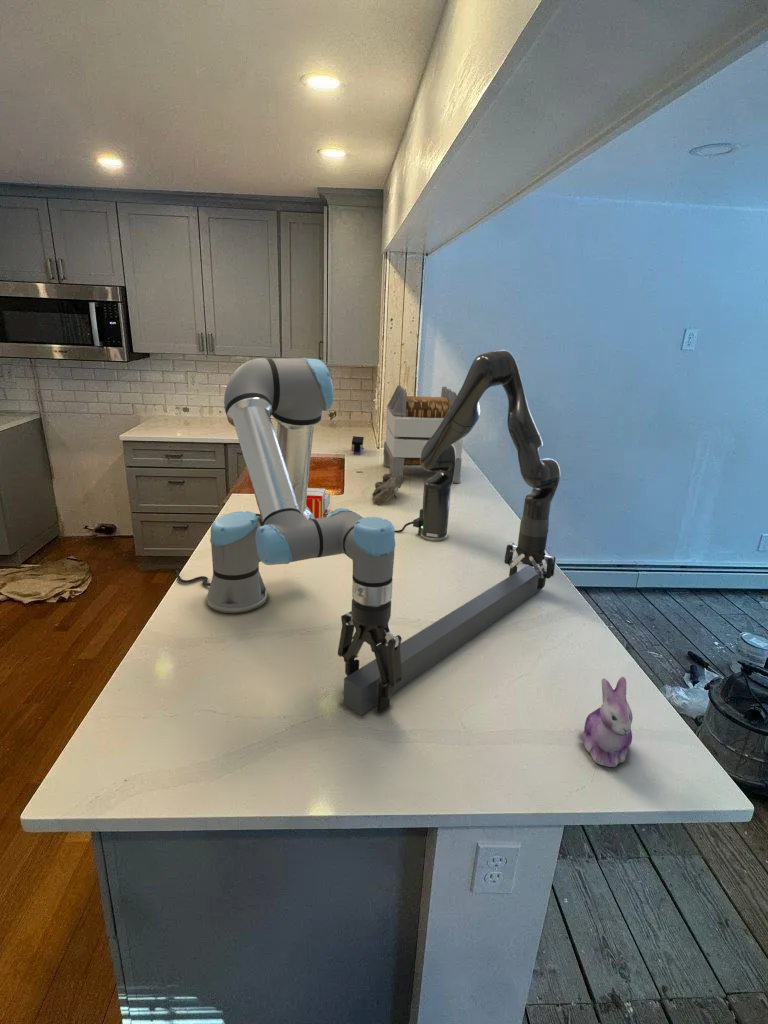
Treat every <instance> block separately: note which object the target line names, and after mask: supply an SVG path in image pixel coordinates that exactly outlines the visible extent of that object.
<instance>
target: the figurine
mask: <svg viewBox="0 0 768 1024" xmlns="http://www.w3.org/2000/svg"><path fill="white" fill-rule="evenodd" d="M601 693H602V695H601V696H602V704H601V706H600V707H597V709H595V710H594V711H592V712H590V713H589V714H588V715H587V717H586V719H585V722H584V727H583V728H584V729H583V734H582V739H583V746H584V748H585V750H586V751H587V752H588V754H589V755H590V756H591V758H592V760H593V761H594V763H595V764H598V765H600V766H604V767H608V768H615V767H617V766H618V764H621V763H625V761H626V759H627V754H628V751H629V747H630V746H631V744H632V742H633V731H632V722H633V712H632V709H631V707H630V704H629V702H628V700H627V679H626V678H625V677H624V676H621V677H619V679H618V680H617V682H616V686H615V688H613V687H612V685H611V683H610V682H609V680H607V678H605V677H603V678H602V679H601Z"/></svg>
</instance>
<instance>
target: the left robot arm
mask: <svg viewBox="0 0 768 1024" xmlns="http://www.w3.org/2000/svg"><path fill="white" fill-rule="evenodd" d="M333 403H334V385H333V381H332V377H331V374H330V371H329V369H328V367H327V365H326V364H325V363H324V362H323V361H322V360H321V359H318V358H306V357H293V358H292V357H290V358H289V357H288V358H287V357H286V358H285V357H284V358H282V357H280V358H275V357H274V358H265V357H258V358H252V359H250V360H247V361H246V362H244V363H242V364H241V365H240V366H239V367H237V368H236V370H235V371H234V372H233V373H232V375H231V376H230V378H229V380H228V382H227V385H226V387H225V391H224V398H223V404H224V405H223V406H224V411H225V416H226V419H227V421H228V423H229V424H230V425H231V426H233V427H234V429H235V432H236V435H237V439H238V442H239V446H240V449H241V454H242V456H243V460H244V464H245V467H246V470H247V474H248V476H249V480H250V484H251V487H252V490H253V494H254V497H255V500H256V504H257V507H258V511H259V514H260V515H261V516H256V514H257V513H254V512H252V511H247V510H246V511H243V510H242V511H239V510H238V511H233V512H229V513H226V514H223V515H221V516H219V517H217V518H216V519H215V520H214V521H213V522H212V524H211V526H210V539H209V542H210V547H211V548H210V549H211V559H212V560H211V561H212V578H211V582H208V581H209V578H208V576H204V575H202V576H197V577H193V578H191V579H183V578H182V577H181V575H180V570H179V569H177V570H175V571H174V572H173V573H174V574H175V575H176V578H177V580H178V582H180V583H181V584H190V583H193V582H196V581H201V580H202V585H203V586H205V587H208V591H207V605H208V606H209V607H210V608H211V609H212V610H214V611H216V612H219V613H223V614H244V613H247V612H248V613H249V612H251V611H254V610H257V609H258V608H260V607H261V606H263V605H264V604H265V603H266V602H267V599H268V589H267V587H266V584H265V583H264V580H263V578H262V576H261V573H260V563H262V564H264V565H265V566H275V565H289V564H290V563H295V562H300V561H305V560H311V559H317V558H318V559H319V558H326V557H331V556H336V555H341V554H344V555H346V556H347V557H348V559H350V560H352V584H351V585H352V587H351V588H352V590H351V591H352V592H351V597H352V599H351V611H349V612H347V613H345V614H343V615H341V617H340V618H341V631H340V635H339V636H340V638H339V642H338V648H337V656H338V657H342V658H343V662H344V673H345V675H346V677H347V676H349V675H350V674H352V673H353V672H355V671H357V670H358V669H360V660H359V659H358V657H359V652H360V650H361V649H362V647H363V645H364V643H367V644H368V645H369V646H370V650H371V652H372V653H374V657H375V659H376V661H377V665H378V668H379V672H380V676H381V679H382V681H381V682H380V683H379V691H378V704H377V712H379V713H382V712H384V711H385V710H386V709H388V708H390V706H391V705H390V704H391V697H392V696H393V694H394V693H393V687H394V686H396V685H397V684H399V683H400V682H402V667H401V655H400V644H401V643H402V636H401V635H400V634H397V635H394V634H393V633H391V631H390V627H389V622H390V619H391V616H392V598H393V581H394V580H393V577H394V563H395V549H396V538H395V537H396V536H395V534H396V532H395V531H396V529H395V525H394V524H393V523H392V522H391V521H390V520H388V519H386V518H385V519H383V518H382V517H378V516H367V517H362V516H361V515H360V514H359V513H356V512H355V511H353V510H351V509H349V508H345V507H339V508H336V509H334V510H332V511H331V512H329V513H328V514H327V516H325V517H323V518H317V519H315V517H314V515H313V514H312V513H311V512H310V509H309V508H308V507H307V506H306V497H307V488H309V476H310V469H311V468H310V467H311V459H312V449H313V439H314V438H313V437H314V429H315V426H316V425H318V424H319V423H320V422H321V420H322V415H323V411H325V412H326V411H327V410H330V409H331V408H332V406H333ZM271 417H272V418H273V419H274V420H275V421H276V423H277V424H276V431H275V428H274V423H273V422H272V421H273V420H272V419H271ZM179 575H180V576H179Z"/></svg>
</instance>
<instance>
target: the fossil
mask: <svg viewBox="0 0 768 1024" xmlns="http://www.w3.org/2000/svg"><path fill="white" fill-rule="evenodd" d="M403 482H404V476H403V475H401V474H399V473H394V474H393V475H392V474H391V473H390V472H389V473H384V474H383V476H382V481H376V482H375V483H374V488H375V489H374V490H373V493H372V494H371V495H372V496H371V497H372V502H373V503H374V504H376V505H380V504H381V505H382V504H384V503H387V502H388V501H389V500H390V499H391V498H393V497H394V498H395V499H396V498H397V496H396V493H397V492H398V490H399V489H401V487H402V485H403Z"/></svg>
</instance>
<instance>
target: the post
mask: <svg viewBox="0 0 768 1024" xmlns="http://www.w3.org/2000/svg"><path fill="white" fill-rule="evenodd" d="M538 578H539V575H538V572H537V571H535V569H534V566H533V567H531V566H529V565H526V566H523V568H520V569H519V570H517V572H516V573H514V574H513V575H511V576H510V577H509V576H508V577H506V578H505V579H503V580H501V581H499V582H498V583H496V584H495V585H493V586H491V587H490V588H488V589H487V590H485V591H483V592H482V593H481V594H478V595H477V596H476V597H474V598H472V599H470V600H469V601H467V602H466V603H464V604H462V605H461V606H459V607H457V608H456V609H454V610H453V611H451V612H449V613H448V614H446V615H444V616H443V617H441V618H439V619H438V620H436V621H435V622H433V623H432V624H430V625H428V626H426V627H425V628H423V629H422V630H420V631H419V632H416V633H415V634H413V635H412V636H410V637H408V638H407V639H406V640H404V641H401V644H400V655H401V667H402V682H400V683H399V684H397V685H396V686H394V687H393V694H394V693H395V692H397V691H398V690H400V689H401V688H403V687H404V686H405V685H407V684H408V683H410V682H412V680H414V679H415V678H417V677H418V676H420V675H421V674H422V673H424V672H426V671H428V670H429V669H430V668H431V667H432V666H434V665H436V664H437V663H438V662H440V661H441V660H442V659H444V658H445V657H447V656H448V655H450V654H451V653H453V652H454V651H455V650H457V649H458V648H460V647H461V646H462V645H464V644H465V643H467V642H469V640H471V639H472V638H474V637H476V636H477V635H478V634H479V633H481V632H482V631H484V630H485V629H487V628H489V626H491V625H492V624H494V623H496V621H498V620H499V619H501V618H502V617H504V616H505V615H506V614H508V613H509V612H511V611H512V610H513V609H515V608H516V607H518V606H520V605H521V604H522V603H523V602H525V601H526V600H528V599H530V598H531V597H532V596H534V595H535V594H536V593H538V592H539V591H540V590H538V589H537V585H538ZM381 681H382V679H381V676H380V672H379V668H378V665H377V661H376V658H375V659H373V660H371V661H369V662H368V663H366V664H365V665H363V666H362V667H359V669H358V670H357V671H355V672H353V673H352V674H350V675H349V676H347V675H346V676H345V677H344V678H343V705H344V706H346V707H347V708H349V709H350V710H351V711H353V712H355V713H356V714H358V715H359V716H363V715H364V714H366V713H367V712H368V711H370V710H371V709H373V708H374V707H376V706H378V691H379V683H380V682H381Z"/></svg>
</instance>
